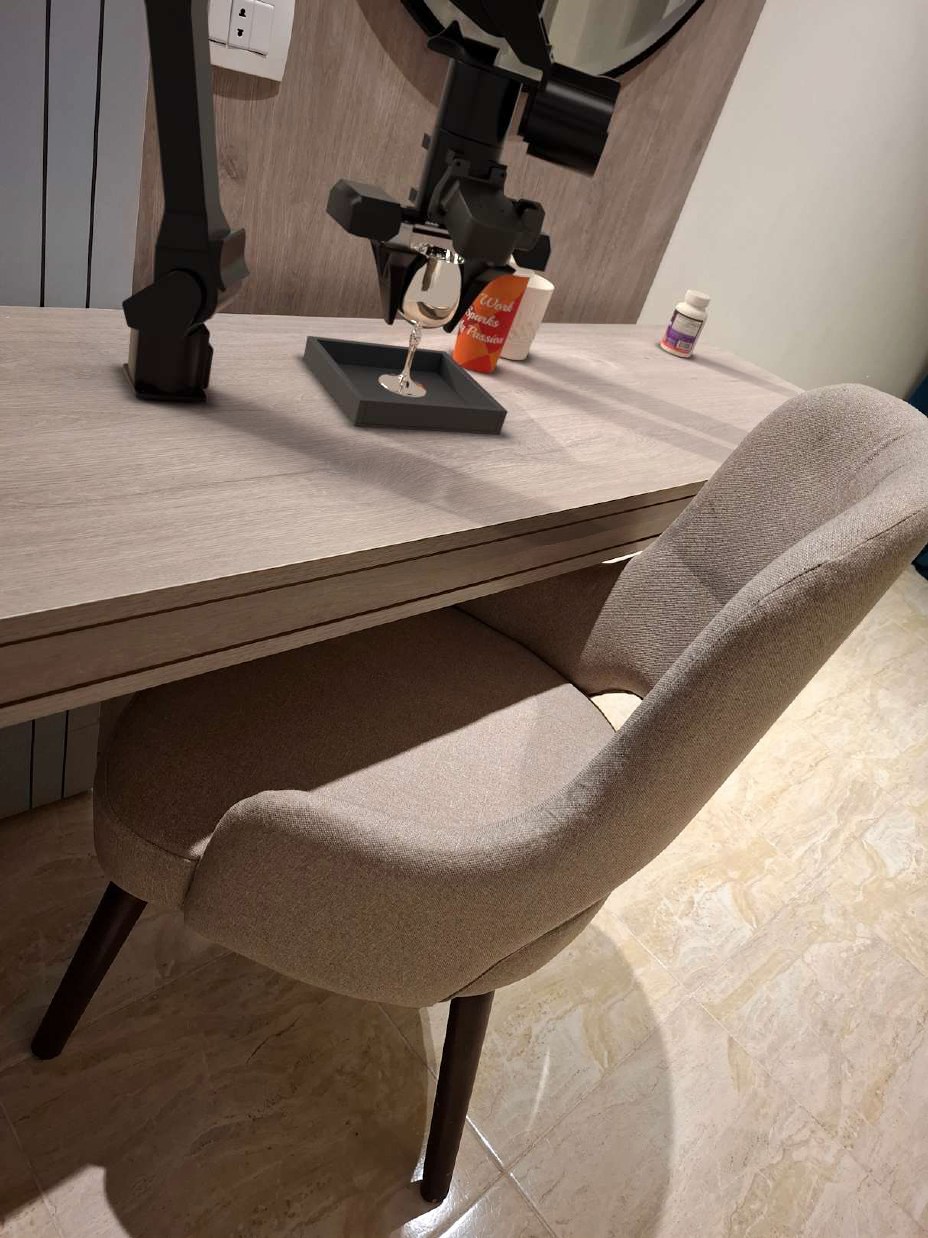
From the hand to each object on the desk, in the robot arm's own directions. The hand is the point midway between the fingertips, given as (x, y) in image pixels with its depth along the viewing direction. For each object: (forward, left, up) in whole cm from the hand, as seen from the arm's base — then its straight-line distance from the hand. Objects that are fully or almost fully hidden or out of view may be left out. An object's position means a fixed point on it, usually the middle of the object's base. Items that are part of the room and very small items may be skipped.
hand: (417, 327), depth 79 cm
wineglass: (0, 0, -6) cm, 6 cm away
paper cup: (+24, +26, -13) cm, 38 cm away
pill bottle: (+72, +41, -13) cm, 84 cm away
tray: (+8, +14, -13) cm, 21 cm away
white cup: (+32, +32, -13) cm, 47 cm away
